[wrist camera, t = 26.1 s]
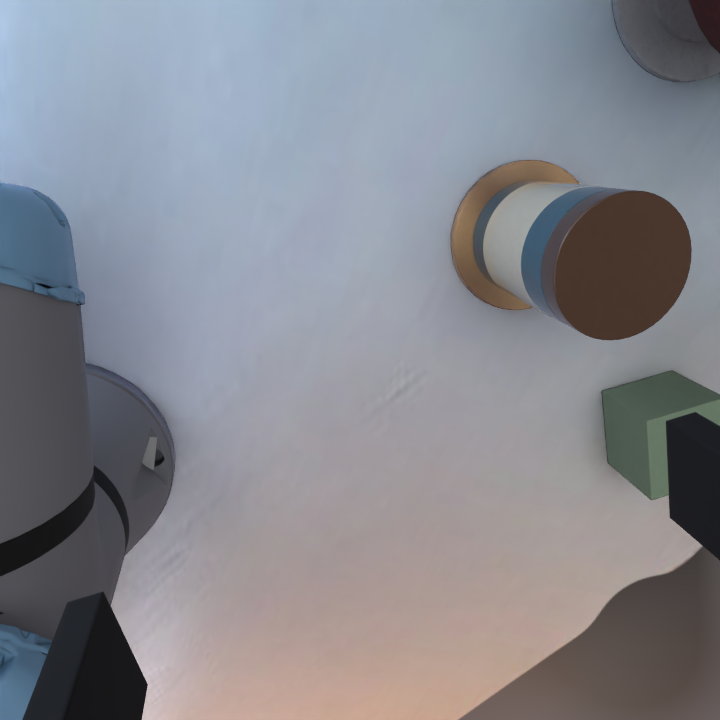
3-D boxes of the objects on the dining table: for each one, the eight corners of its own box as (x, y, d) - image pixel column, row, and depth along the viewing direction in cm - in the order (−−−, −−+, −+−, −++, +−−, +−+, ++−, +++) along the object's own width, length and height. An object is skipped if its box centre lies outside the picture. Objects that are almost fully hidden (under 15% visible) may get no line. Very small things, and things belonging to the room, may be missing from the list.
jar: (635, 377, 42) (749, 262, 29) (526, 409, 41) (594, 306, 28) (551, 218, 48) (616, 63, 35) (454, 244, 47) (483, 95, 34)
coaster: (524, 334, 47) (529, 336, 46) (421, 253, 43) (424, 255, 43) (615, 220, 45) (621, 221, 45) (515, 127, 42) (520, 126, 41)
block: (675, 442, 53) (726, 477, 47) (607, 463, 52) (651, 500, 47) (672, 369, 51) (726, 397, 45) (601, 390, 50) (646, 421, 44)
